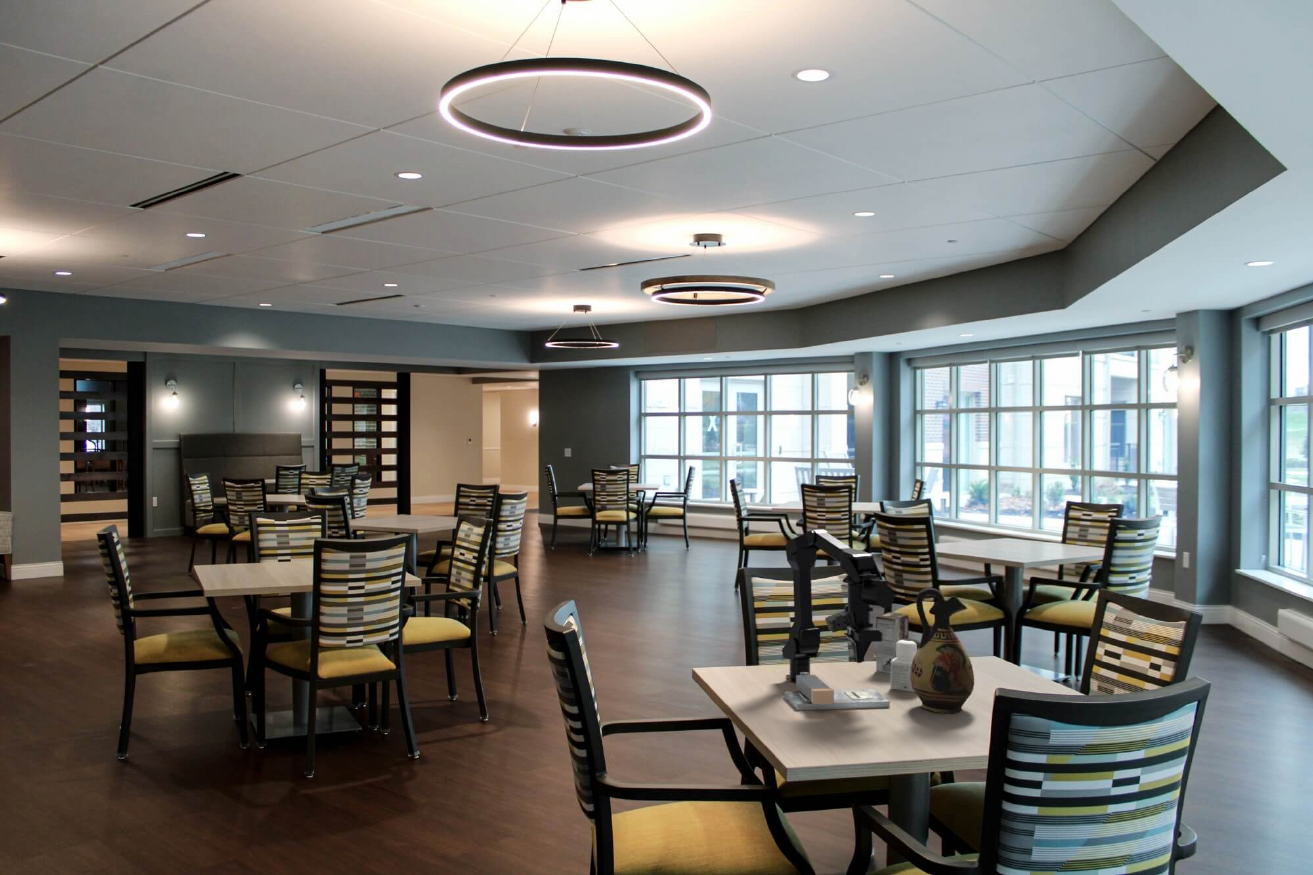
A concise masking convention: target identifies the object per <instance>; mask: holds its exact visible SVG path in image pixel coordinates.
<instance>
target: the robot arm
mask: <svg viewBox="0 0 1313 875" xmlns="http://www.w3.org/2000/svg"><path fill="white" fill-rule="evenodd" d="M819 551H822V552H823V553H826V554H827V555H828V556H830V557H831V558H832V559H834V560H835V561H837V562H838V563H839V567H840V569H841V570H842V571H843V572H844V573H845V574H846V576H845V577H844V578H843V579H842V582H843V583H845V584H847V604H845V605H844V606H843V608H844V609H843V611H839V612H836V613H833V614H831V615H829V616H827V617H825V623H826V625H827V628H828V630H829V631H831V632H832V633H837V632H839V631H840V630H843V629H846V632H844V633H843V635H844V636H846V638H847V639H848V640H850V643H851V646H852V652H853V654H854V658H855V663H857V664H862V662H863V660H864V658H865V657H866V654H867V652H868V650H869V648H870V647H871V644H872V643H873V642H880V641H883V634H882V633H881V632H880V631H879V630H878V629H876V627H874V623H873V622H871V612H873V611H874V607H878V608H882V609H888V608H889V607H891V606H892V604H893V602H894V601H895V593H894V590H893V588H892V587H891V586H890V585H889V581H888V580H885V579H884V578H883V577H882V573H881V571H880V569H879V567H878V565H877V563H876V562H875V559H874V556H873V555H872V554H871V553H869V552H866V551H864V550H861V549H856V548H852V547H850V546H848V545H846V543H844V542H842V541H840V540H839V539H838V538H836V537H835V536H833V535H831V534H830V533H829V532H828V531H827V530H825V529H819V528H817V529H810V530H808V531H807V532H806V533H803V534H801V535H798V536H796V537H793V538H790V539H789V540H788V541H787V542H786V543H785V553H786V562H788V564H789V566H790V567H791V569H792V580H793V582H792V583H793V584H792V585H793V609H794V612H793V614H794V615H793V616H794V621H793V623H792V626H791V627H790V629H789V631H788V640H787V642H786V643H785V645H784V646H783V647H782V648H781V652H782V658H785V659H788V660H789V674H786V675H785V677H786V678H787V679H788V680H789V681H790V682H791V683H796V675H800V672H808V673H809V675H811V659H813V658H817V657H818V654H819V649H820V646H821V645H820V644H821V643H822V641H821V640H822V639H821V629H820V628H819V627H818V628H817V626H816V625H815V623H814V621H813V598H812V595H813V594H812V593H813V592H812V568H813V567H814V565H815V562H816V561H817V554H818V552H819ZM873 606H874V607H873Z"/></svg>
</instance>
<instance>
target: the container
mask: <svg viewBox="0 0 1313 875" xmlns="http://www.w3.org/2000/svg"><path fill="white" fill-rule="evenodd" d="M920 642H921V641H919V640H916V639H913V638H908V639H900V640H898V641H897V642H896V656H897V657H896V658H894V659H893V660H891V674H890V689H891V690H897V691H905V692H913V693H915V692H914V690H913V688H912V685H911V680H910V672H911V665H912V662H913V658H914V656H915V654H916V652H917V650H918V648H919V646H920Z"/></svg>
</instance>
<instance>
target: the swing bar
mask: <svg viewBox="0 0 1313 875" xmlns="http://www.w3.org/2000/svg"><path fill="white" fill-rule="evenodd" d="M795 684H796V685H795V686H796V688H797V689H798V691H801V692H802V693H803V694H804V695H805V696H806V697H807V698H808V699H809V700H810V701H811V702H812V703H813V704H834V690H835V689H833V688H831V687H830V686H829V685H827V684H826V683H825V682H824V681H823V680H821V678H819V677H818V676H817V675H815V674H810V675H809V673H808V672H800V675H796V682H795Z"/></svg>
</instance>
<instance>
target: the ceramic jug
mask: <svg viewBox="0 0 1313 875" xmlns="http://www.w3.org/2000/svg"><path fill="white" fill-rule="evenodd" d="M928 597H934V598H936V600H937V602H935V603H934V604H933V605H932V606H931V607H930V608H929V611H928V612H929V613H928V614H931V615H933V616H935V617H936V618H935V620H934V623H933V625H932V627H931V628H930V625H929V622H928V619H927V617H926V613H925V610H924V603H923V601H924V599H926V598H928ZM915 601H916V602H915V604H916V605H915V606H916V610H917V615H918V616H919V620H920V623H921V626H922V629H923V632H922V635H921V639H920V641H919V642H920V646H919V648H918V650H917V652H916V654H915V656H914V658H913V662H912V665H911V672H910V680H911V685H912V688H913V690H914V692H913V693H915V695H916V696H917V697H918V698H919V700H920V701H921V708H924V709H927V710H929V711H932V712H934V713H941V714H948V715H949V714H950V715H954V714H957V713H961V712H963V708H962V707H963V705H964V704H965V702H966V701H967V700H968V699H969V698H970V696H972V693H973V691H974V687H975V674H974V673H975V672H974V669H973V664H972V662H971V661H972V660H971V659H970V657H969V654H968V652H967V650H966V649H965V647H964V645H963V644H962V641H961V640H960V639H959V637H958V636H957V634H956V633H955V631H954V629H953V628H952V627H951V622H950V617H951V616H952V615H954V614H957V613H959V612H962V611H966V610H967V609H968V607H967V606H966V605H965V604H964V603H963V602H962V601H961V600H960V599H959V597H957V596H956V595H955V594H954V595H951V596H950V597H948V598H947V599H945V597H944V595H943V594H942V592H941V591H940V590H938V589H937V588H935V587H934V588H933V587H925V588H922V589H921V590H920V591H919V592H918V594H917V596H916V600H915Z"/></svg>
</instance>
